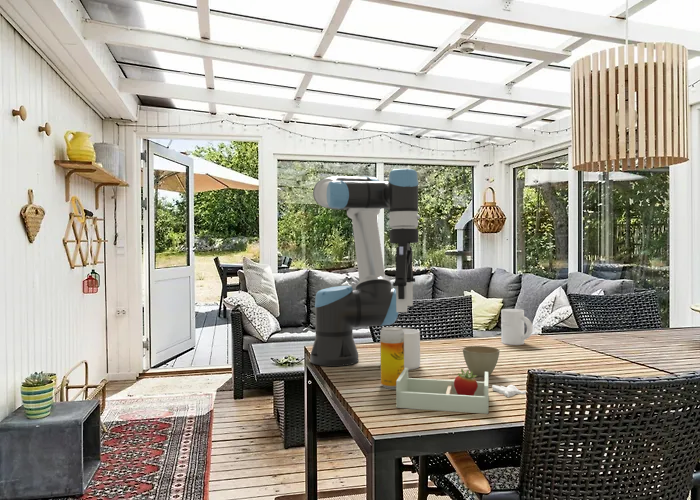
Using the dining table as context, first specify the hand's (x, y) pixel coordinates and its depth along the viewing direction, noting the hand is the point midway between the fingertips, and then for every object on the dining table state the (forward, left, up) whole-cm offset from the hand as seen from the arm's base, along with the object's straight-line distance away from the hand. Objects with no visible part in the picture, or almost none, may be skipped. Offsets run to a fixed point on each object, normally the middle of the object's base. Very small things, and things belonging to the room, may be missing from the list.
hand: (405, 308), depth 140 cm
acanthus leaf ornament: (+26, -3, -20) cm, 33 cm away
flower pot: (+19, +13, -20) cm, 31 cm away
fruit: (+16, -15, -20) cm, 30 cm away
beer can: (-3, -4, -20) cm, 20 cm away
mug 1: (-4, +17, -20) cm, 26 cm away
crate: (+11, -15, -20) cm, 27 cm away
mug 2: (+31, +62, -20) cm, 72 cm away
